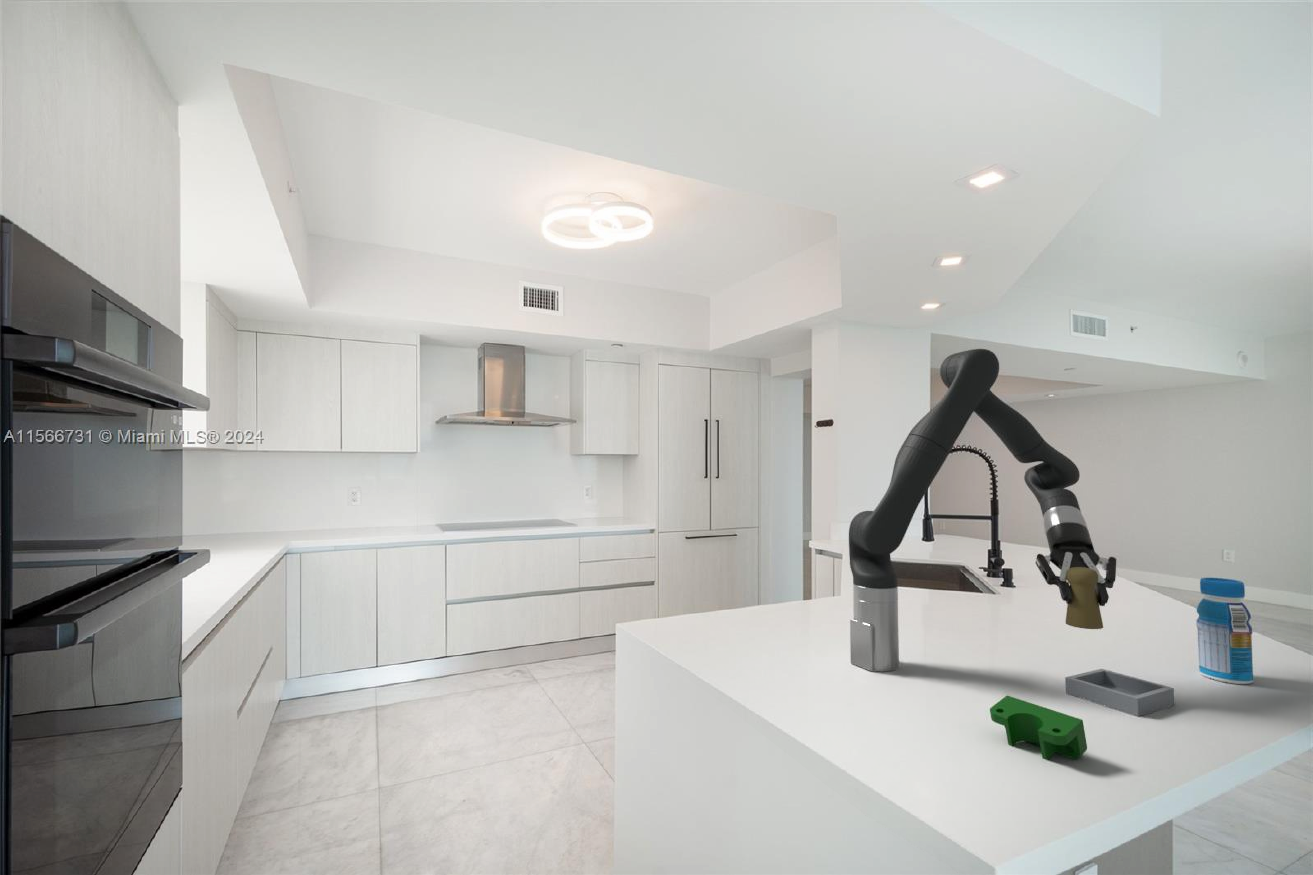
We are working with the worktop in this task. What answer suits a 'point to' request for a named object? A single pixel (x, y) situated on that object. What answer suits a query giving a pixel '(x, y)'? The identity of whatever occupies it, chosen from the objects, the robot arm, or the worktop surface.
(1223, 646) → the beverage bottle
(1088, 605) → the cork
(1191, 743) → the worktop surface
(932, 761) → the worktop surface
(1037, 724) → the clamp
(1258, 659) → the worktop surface
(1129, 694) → the tray
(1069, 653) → the worktop surface
